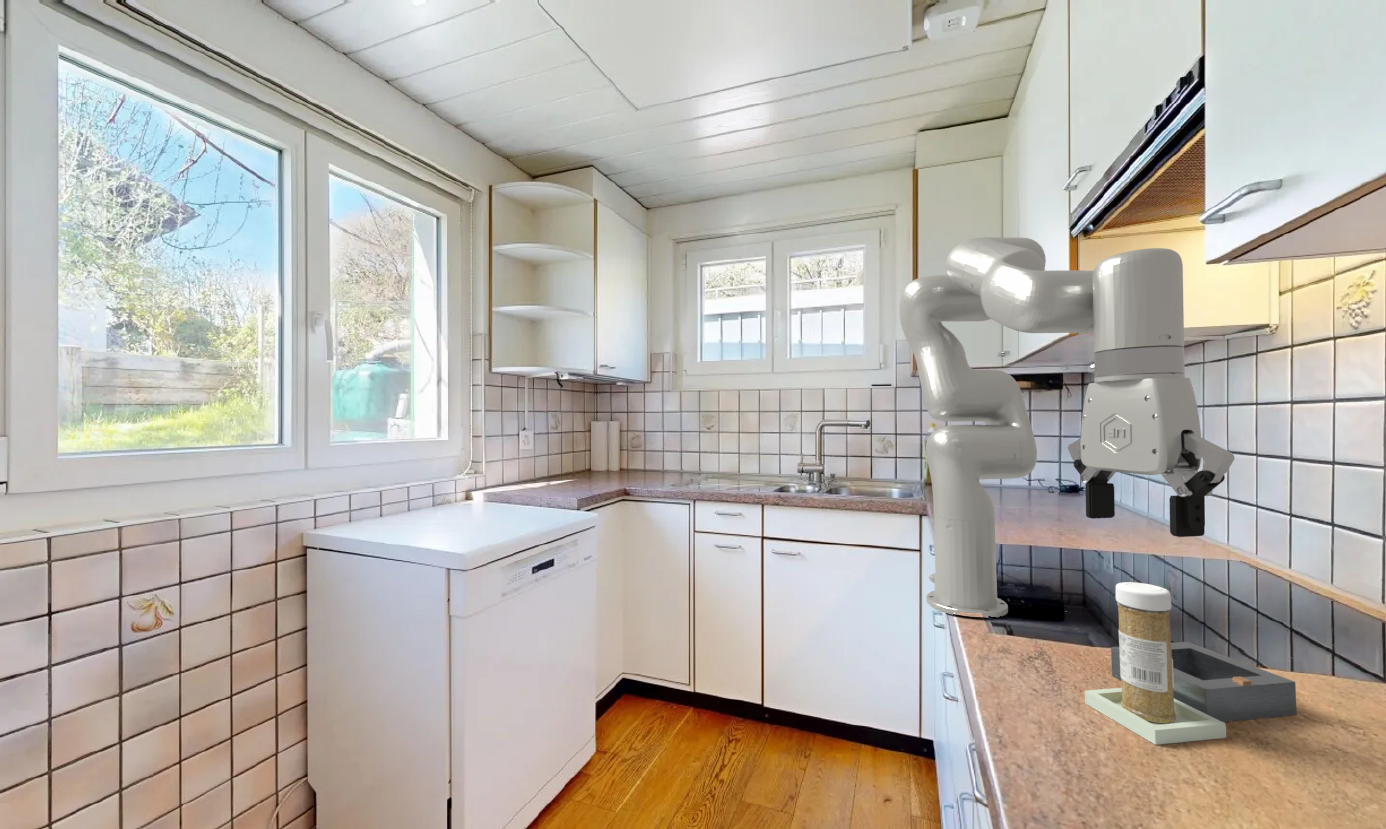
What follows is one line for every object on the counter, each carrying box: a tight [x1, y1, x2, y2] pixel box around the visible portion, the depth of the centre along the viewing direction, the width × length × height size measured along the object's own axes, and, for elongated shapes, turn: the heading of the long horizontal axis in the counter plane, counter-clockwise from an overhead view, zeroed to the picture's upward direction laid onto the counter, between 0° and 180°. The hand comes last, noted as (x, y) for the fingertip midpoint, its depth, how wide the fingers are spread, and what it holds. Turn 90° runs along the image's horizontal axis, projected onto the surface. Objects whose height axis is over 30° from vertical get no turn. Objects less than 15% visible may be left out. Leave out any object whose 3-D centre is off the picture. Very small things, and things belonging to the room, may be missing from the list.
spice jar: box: [1115, 581, 1176, 724], centre depth 57 cm, size 5×5×13 cm
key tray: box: [1084, 687, 1227, 745], centre depth 56 cm, size 8×8×1 cm
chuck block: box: [1110, 641, 1298, 723], centre depth 62 cm, size 11×11×4 cm
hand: (1140, 526), depth 58 cm, fingers open, 9 cm apart
